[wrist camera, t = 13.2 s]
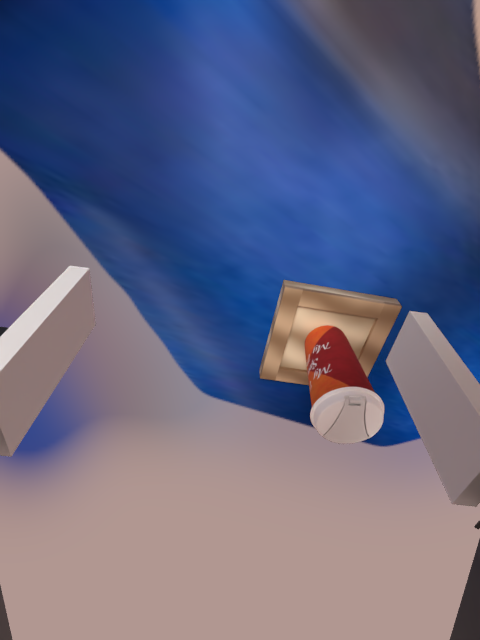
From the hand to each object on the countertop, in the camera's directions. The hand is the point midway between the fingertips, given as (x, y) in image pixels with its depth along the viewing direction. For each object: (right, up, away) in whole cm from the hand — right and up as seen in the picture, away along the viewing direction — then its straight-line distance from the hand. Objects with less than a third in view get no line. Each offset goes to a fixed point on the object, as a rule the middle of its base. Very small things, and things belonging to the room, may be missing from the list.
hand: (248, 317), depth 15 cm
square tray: (+12, -3, +38) cm, 40 cm away
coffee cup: (+12, -3, +37) cm, 39 cm away
